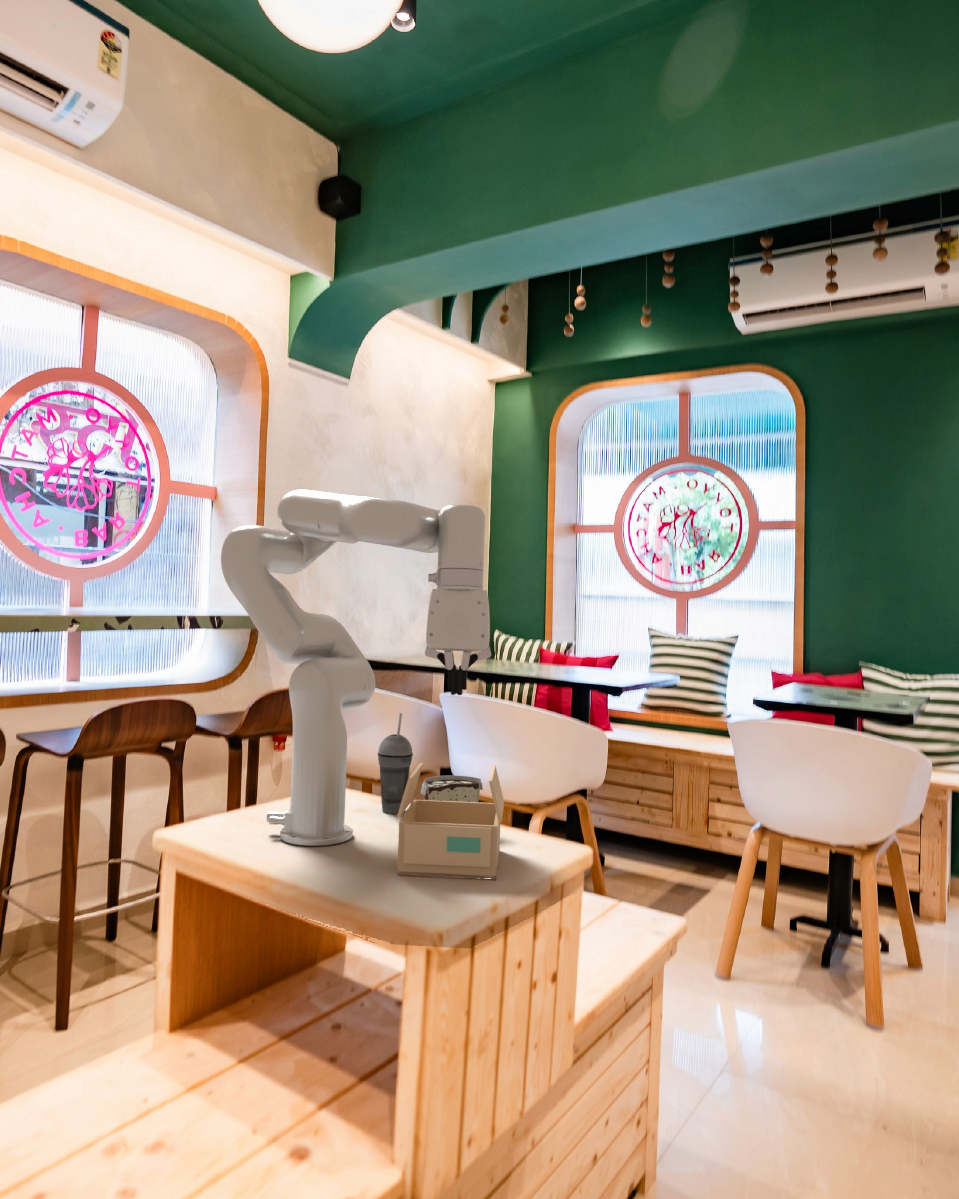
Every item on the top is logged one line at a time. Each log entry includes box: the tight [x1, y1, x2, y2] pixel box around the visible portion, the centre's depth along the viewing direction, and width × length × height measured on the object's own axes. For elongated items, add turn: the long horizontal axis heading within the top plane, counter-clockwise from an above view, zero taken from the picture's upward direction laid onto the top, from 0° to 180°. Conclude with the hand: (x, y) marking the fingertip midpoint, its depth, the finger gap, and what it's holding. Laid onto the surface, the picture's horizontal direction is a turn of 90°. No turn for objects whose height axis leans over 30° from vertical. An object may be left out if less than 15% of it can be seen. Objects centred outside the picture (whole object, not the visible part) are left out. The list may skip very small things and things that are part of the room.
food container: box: [420, 774, 484, 802], centre depth 147 cm, size 12×6×10 cm, turn 123°
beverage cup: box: [377, 712, 414, 815], centre depth 163 cm, size 7×7×20 cm
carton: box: [396, 799, 501, 880], centre depth 129 cm, size 15×17×8 cm
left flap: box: [396, 762, 424, 819], centre depth 130 cm, size 6×14×1 cm
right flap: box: [488, 765, 505, 823], centre depth 129 cm, size 6×14×1 cm
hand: (456, 694), depth 130 cm, fingers closed
